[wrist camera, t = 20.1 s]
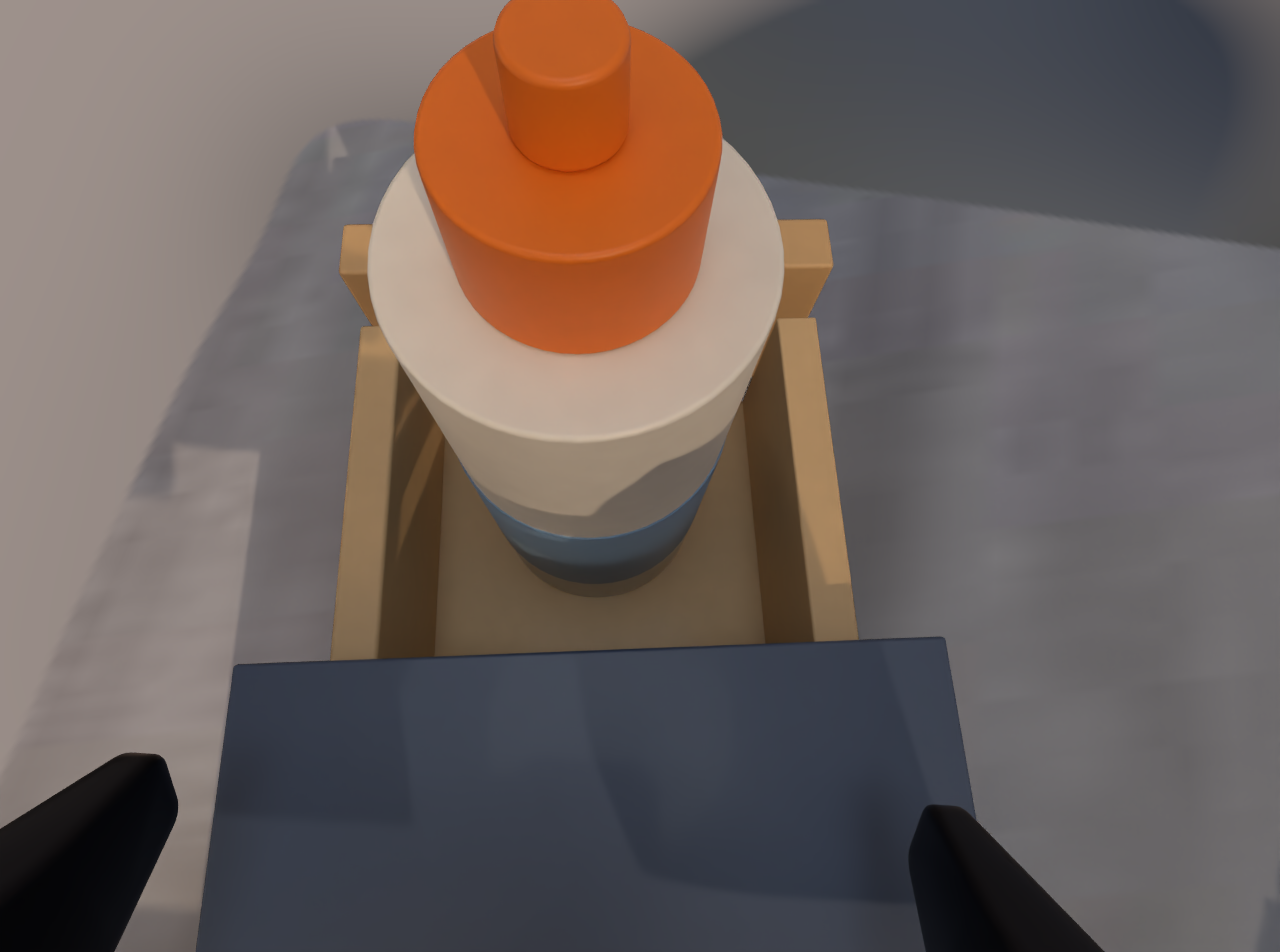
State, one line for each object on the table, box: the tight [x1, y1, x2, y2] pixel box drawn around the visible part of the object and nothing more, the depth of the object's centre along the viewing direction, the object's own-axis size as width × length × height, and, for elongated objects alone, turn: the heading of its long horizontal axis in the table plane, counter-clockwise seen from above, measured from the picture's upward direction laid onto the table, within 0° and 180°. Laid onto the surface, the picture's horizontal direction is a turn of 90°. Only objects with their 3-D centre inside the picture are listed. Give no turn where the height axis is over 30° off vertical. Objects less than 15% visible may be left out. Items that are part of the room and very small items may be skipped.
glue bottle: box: [367, 0, 784, 597], centre depth 11 cm, size 4×4×12 cm
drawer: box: [330, 219, 859, 661], centre depth 16 cm, size 18×10×5 cm, turn 2°
